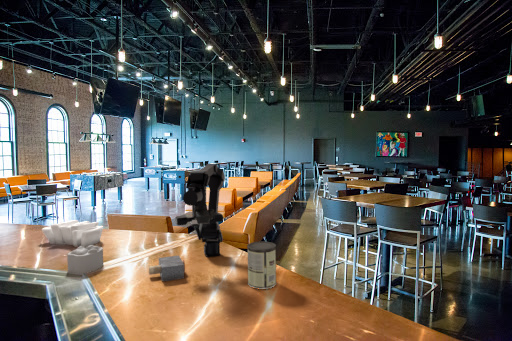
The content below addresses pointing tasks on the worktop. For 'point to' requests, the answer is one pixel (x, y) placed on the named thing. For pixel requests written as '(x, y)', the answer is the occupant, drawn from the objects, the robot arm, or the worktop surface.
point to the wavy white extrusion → (74, 233)
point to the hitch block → (171, 268)
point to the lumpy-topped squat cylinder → (85, 259)
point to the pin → (158, 269)
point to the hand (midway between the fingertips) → (199, 239)
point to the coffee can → (261, 265)
